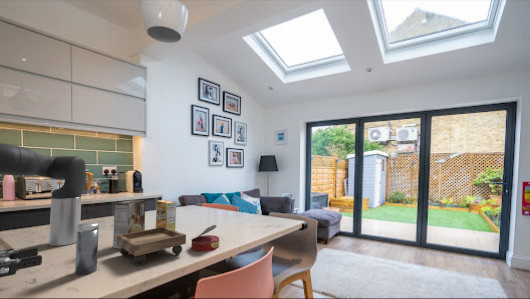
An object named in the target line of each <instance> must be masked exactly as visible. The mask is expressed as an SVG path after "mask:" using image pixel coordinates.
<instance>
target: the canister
mask: <svg viewBox="0 0 530 299" xmlns="http://www.w3.org/2000/svg"><path fill="white" fill-rule="evenodd" d="M99 225H100V223H99V222H97V221H95V222H91V221H90V222H85V223H80V224H79V225H77V242H76V246H75V264H74V265H75V267H74V274H75V276H79V277H80V276H87V275H91V274H93V273H95V272H96V271H97V270H98V253H99V250H98V249H99V230H100V229H99V228H100V226H99Z"/></svg>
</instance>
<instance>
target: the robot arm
mask: <svg viewBox="0 0 530 299" xmlns="http://www.w3.org/2000/svg"><path fill="white" fill-rule="evenodd" d="M86 166H87V165H86V162H85V160H84V159H83V157H81V156H78V155H77V156H73V155H72V156H71V155H70V156H69V155H67V156H65V155H63V156H61V155H60V156H54V155H53V156H51V155H50V156H49V155H42V154H38V153H36V152H35V151H33V150H32V149H30V148H27V147H24V146H20V145H19V146H18V145H14V144H8V143H3V142H2V143H1V142H0V175H5V176H6V175H7V176H22V177H23V176H27V177H28V176H38V177H39V176H40V177H44V178H48V179H53V180H59V181H60V180H61V181H62V180H63V181H64V183H63V185H62V186H61V187H59V188H57V189H54V190H52V192H51V199H50V200H51V201H50V219H49V234H48V245H49V246H52V247H58V246H59V247H60V246H67V245H71V244H75V243H76V242H77V225H79V224H81V217H82V216H81V213H82V194H83V190H84V188H85V179H86V172H87V171H86V170H87V169H86ZM38 252H39V248H38V247H37V246H36V247H35V246H34V247H30V248H24V249H14V248H9V249H4V250H0V278H5V277H9V276H14V275H16V274H17V272H19V271H20V270H24V269H28V268H33V267H37V266H41V265H42V264H43V256H42V255H40V254H39V253H38Z"/></svg>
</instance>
